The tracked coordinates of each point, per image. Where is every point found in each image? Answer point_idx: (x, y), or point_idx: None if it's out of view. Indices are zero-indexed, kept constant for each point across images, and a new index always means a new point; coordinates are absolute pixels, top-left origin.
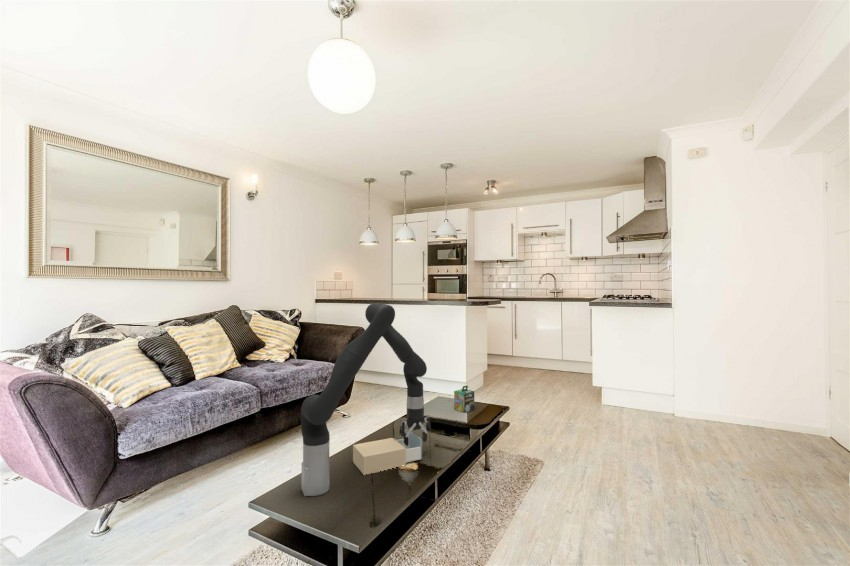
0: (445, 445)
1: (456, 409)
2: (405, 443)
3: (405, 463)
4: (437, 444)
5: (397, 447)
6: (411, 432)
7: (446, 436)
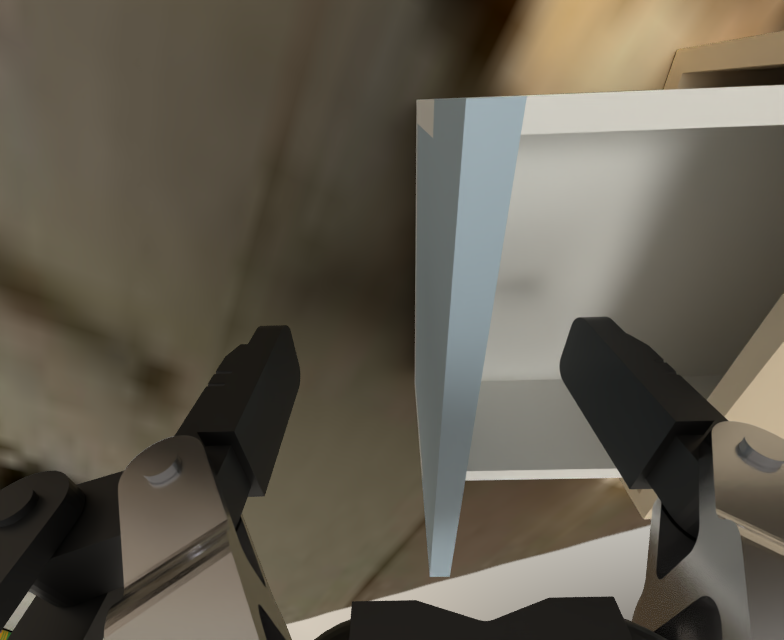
0: (71, 354)
1: (5, 635)
2: (641, 346)
3: (710, 44)
4: (147, 392)
5: None
6: (443, 542)
7: (61, 468)
